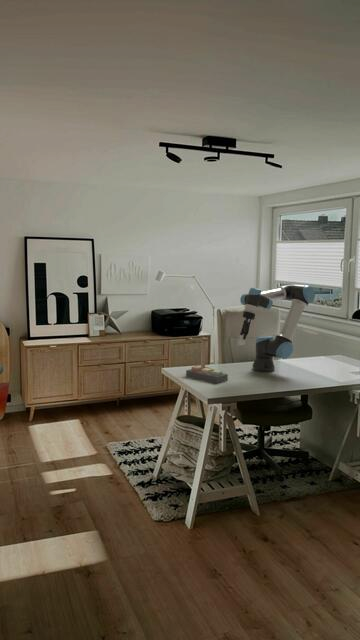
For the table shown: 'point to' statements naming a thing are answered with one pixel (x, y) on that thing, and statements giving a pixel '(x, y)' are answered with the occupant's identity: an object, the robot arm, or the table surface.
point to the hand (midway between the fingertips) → (241, 345)
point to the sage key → (216, 372)
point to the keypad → (206, 376)
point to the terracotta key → (197, 368)
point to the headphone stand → (203, 353)
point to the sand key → (206, 370)
